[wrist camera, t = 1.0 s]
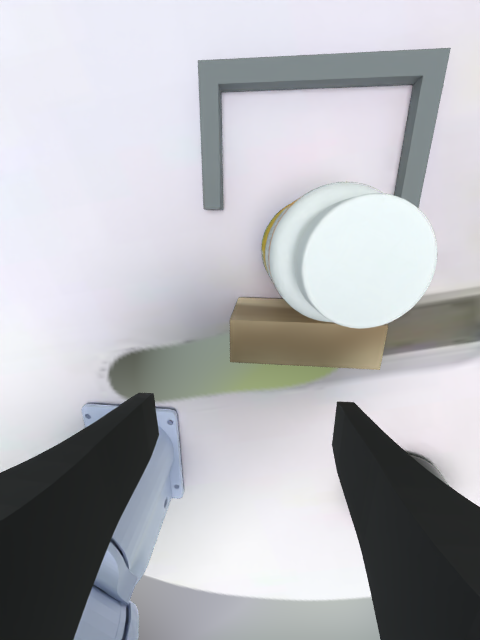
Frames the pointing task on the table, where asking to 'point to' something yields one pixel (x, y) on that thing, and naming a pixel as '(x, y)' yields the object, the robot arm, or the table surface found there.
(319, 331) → the bar
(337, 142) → the table surface
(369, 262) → the supplement bottle
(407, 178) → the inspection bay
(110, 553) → the robot arm
